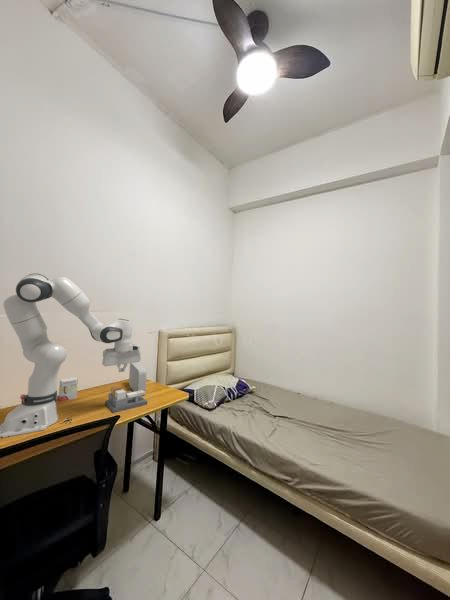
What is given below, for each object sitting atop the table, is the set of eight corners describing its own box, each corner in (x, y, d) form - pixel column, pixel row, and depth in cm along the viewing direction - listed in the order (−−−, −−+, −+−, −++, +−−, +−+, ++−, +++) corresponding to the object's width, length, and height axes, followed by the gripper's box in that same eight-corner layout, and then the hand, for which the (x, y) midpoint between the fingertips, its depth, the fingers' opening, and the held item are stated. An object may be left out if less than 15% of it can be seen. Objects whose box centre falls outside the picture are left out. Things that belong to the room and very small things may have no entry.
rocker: (128, 398, 135) (128, 395, 135) (125, 396, 138) (125, 393, 138) (145, 394, 142) (145, 391, 142) (142, 392, 145) (142, 389, 145)
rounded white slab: (148, 395, 155) (150, 369, 155) (137, 397, 151) (138, 370, 151) (138, 383, 177) (139, 360, 177) (128, 384, 173) (129, 361, 173)
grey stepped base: (113, 413, 127) (114, 402, 128) (105, 403, 138) (105, 393, 139) (147, 404, 140) (147, 394, 140) (137, 396, 151) (137, 387, 151)
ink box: (60, 401, 139) (61, 381, 139) (58, 399, 142) (59, 379, 142) (76, 398, 145) (78, 378, 145) (74, 395, 148) (75, 376, 149)
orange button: (112, 398, 136) (113, 389, 136) (110, 395, 139) (111, 387, 139) (120, 396, 139) (121, 387, 139) (118, 394, 142) (118, 385, 142)
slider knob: (127, 398, 143) (127, 393, 143) (125, 396, 145) (125, 391, 145) (132, 396, 145) (132, 391, 145) (130, 395, 147) (130, 390, 147)
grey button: (117, 402, 130) (117, 393, 130) (114, 399, 134) (115, 391, 134) (125, 400, 133) (125, 391, 133) (122, 398, 137) (123, 389, 137)
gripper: (104, 350, 125) (103, 376, 125) (142, 346, 139) (141, 370, 138) (101, 348, 130) (100, 373, 129) (138, 345, 143) (137, 367, 143)
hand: (121, 371), depth 134 cm, fingers closed
